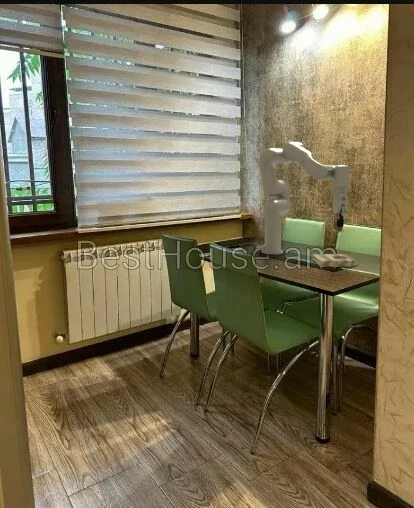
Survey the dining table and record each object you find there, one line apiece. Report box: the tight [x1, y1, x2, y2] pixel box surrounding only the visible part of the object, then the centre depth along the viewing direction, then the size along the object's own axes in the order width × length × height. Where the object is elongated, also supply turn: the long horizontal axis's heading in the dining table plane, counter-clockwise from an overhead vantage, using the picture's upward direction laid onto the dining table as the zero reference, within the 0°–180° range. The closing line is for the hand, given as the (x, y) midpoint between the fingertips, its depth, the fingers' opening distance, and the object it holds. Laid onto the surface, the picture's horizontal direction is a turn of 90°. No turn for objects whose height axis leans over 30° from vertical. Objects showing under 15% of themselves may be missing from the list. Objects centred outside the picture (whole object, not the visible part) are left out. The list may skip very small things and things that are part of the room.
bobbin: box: [332, 211, 345, 233], centre depth 210 cm, size 5×5×10 cm
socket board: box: [311, 253, 358, 268], centre depth 214 cm, size 18×16×3 cm
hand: (338, 225), depth 210 cm, fingers closed on bobbin, 4 cm apart
